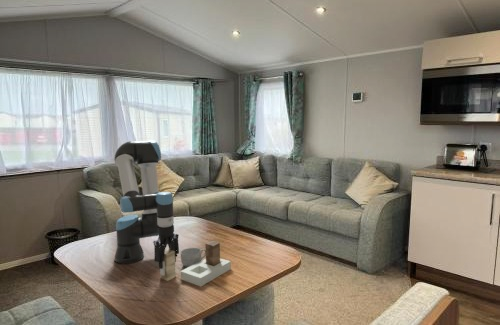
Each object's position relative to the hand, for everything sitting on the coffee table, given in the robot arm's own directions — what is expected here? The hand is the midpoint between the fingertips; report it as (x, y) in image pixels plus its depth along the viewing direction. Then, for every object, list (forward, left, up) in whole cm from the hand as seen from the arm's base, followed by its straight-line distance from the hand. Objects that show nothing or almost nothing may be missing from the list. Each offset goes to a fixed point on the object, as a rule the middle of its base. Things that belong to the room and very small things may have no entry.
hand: (167, 271), depth 161 cm
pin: (0, 0, -3) cm, 3 cm away
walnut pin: (+13, +18, -3) cm, 22 cm away
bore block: (+13, +13, -3) cm, 19 cm away
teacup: (0, +17, -3) cm, 18 cm away
